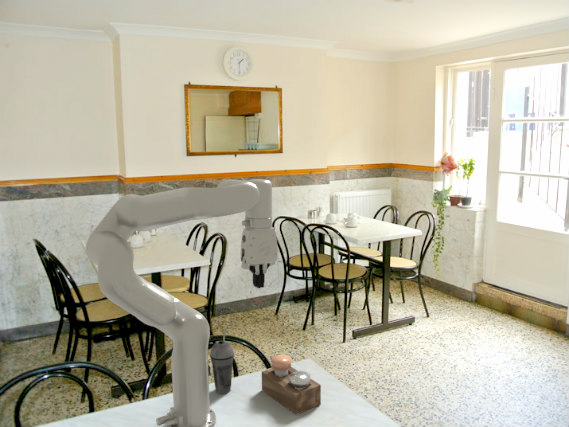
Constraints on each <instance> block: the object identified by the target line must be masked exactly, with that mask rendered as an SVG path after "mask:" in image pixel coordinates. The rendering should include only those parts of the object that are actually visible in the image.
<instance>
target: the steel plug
mask: <svg viewBox="0 0 569 427" xmlns="http://www.w3.org/2000/svg"><path fill="white" fill-rule="evenodd" d="M310 379H311V375H310V373H308V372H307V371H303V370H297V371H295V372H292V373H291V374H290V375H289V384H290V385H291V386H293V387H294V388H295V389H297V390H300V389H303V388H305V387H307V386H308V385H309V384H310Z"/></svg>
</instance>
